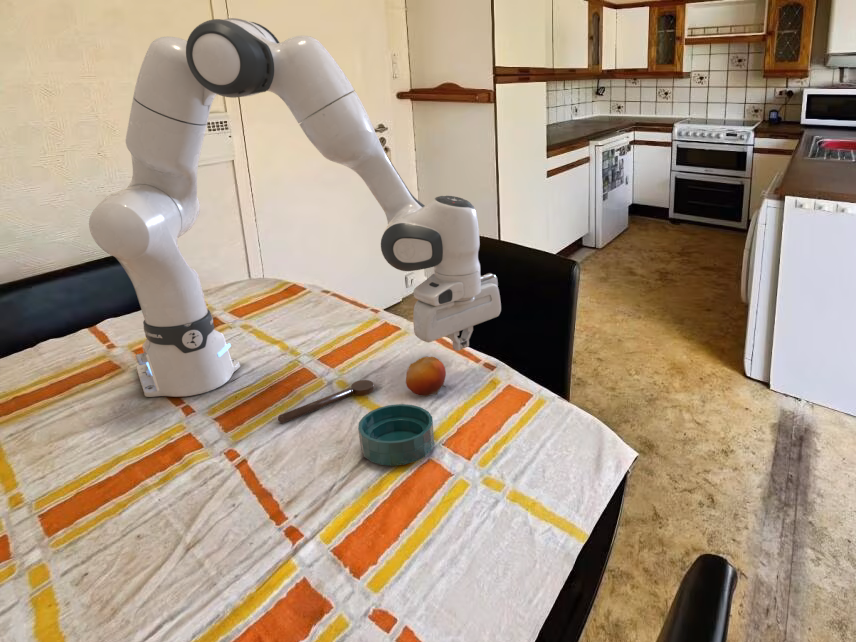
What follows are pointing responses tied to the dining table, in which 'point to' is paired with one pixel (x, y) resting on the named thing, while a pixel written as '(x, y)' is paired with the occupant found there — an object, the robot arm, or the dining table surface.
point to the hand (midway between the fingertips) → (461, 348)
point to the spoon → (329, 400)
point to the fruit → (426, 376)
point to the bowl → (396, 434)
